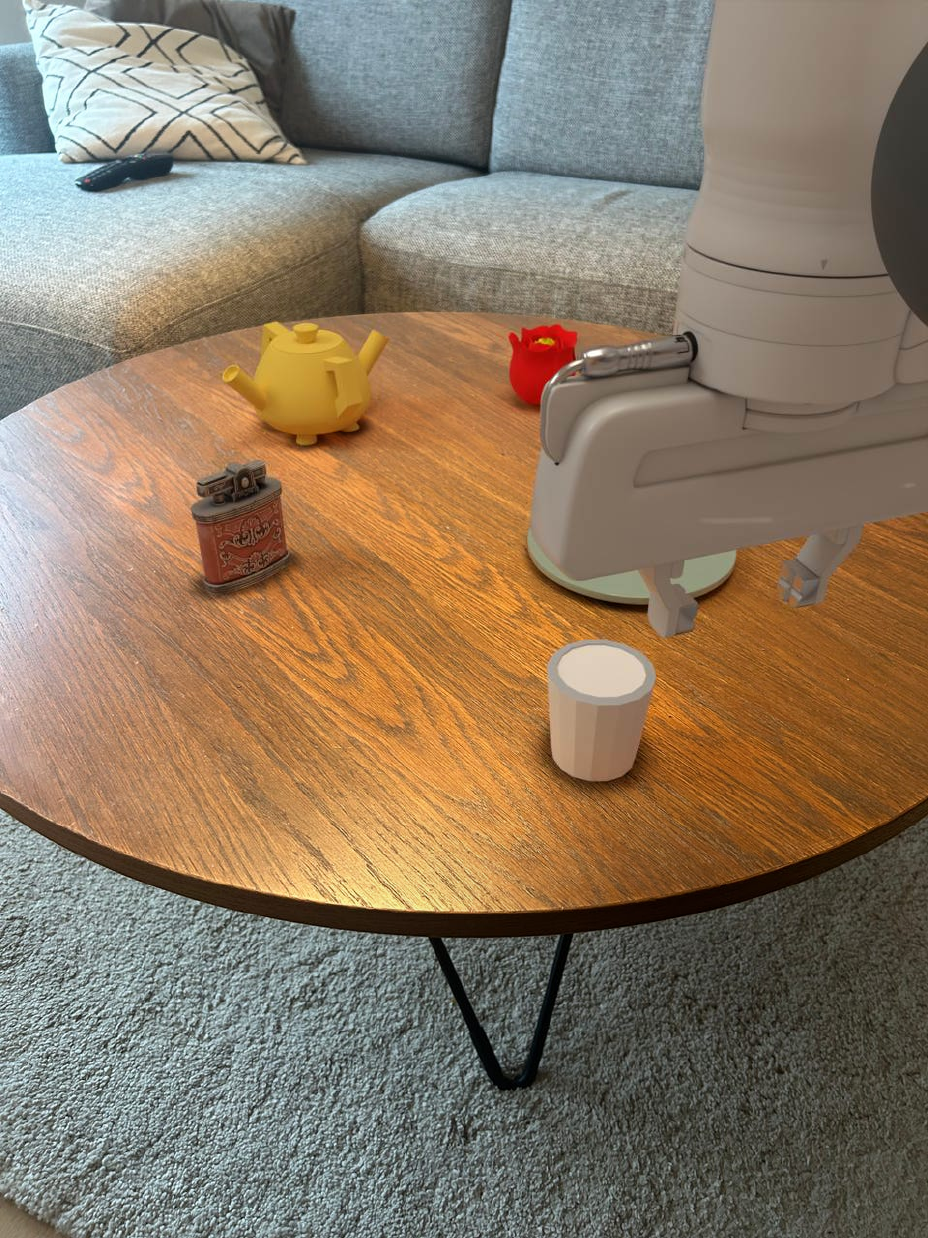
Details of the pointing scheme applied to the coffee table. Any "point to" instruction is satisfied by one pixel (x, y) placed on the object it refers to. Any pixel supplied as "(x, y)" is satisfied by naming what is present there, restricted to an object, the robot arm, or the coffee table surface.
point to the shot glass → (598, 707)
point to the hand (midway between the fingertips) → (735, 614)
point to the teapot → (309, 380)
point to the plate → (639, 577)
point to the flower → (539, 359)
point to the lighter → (240, 527)
